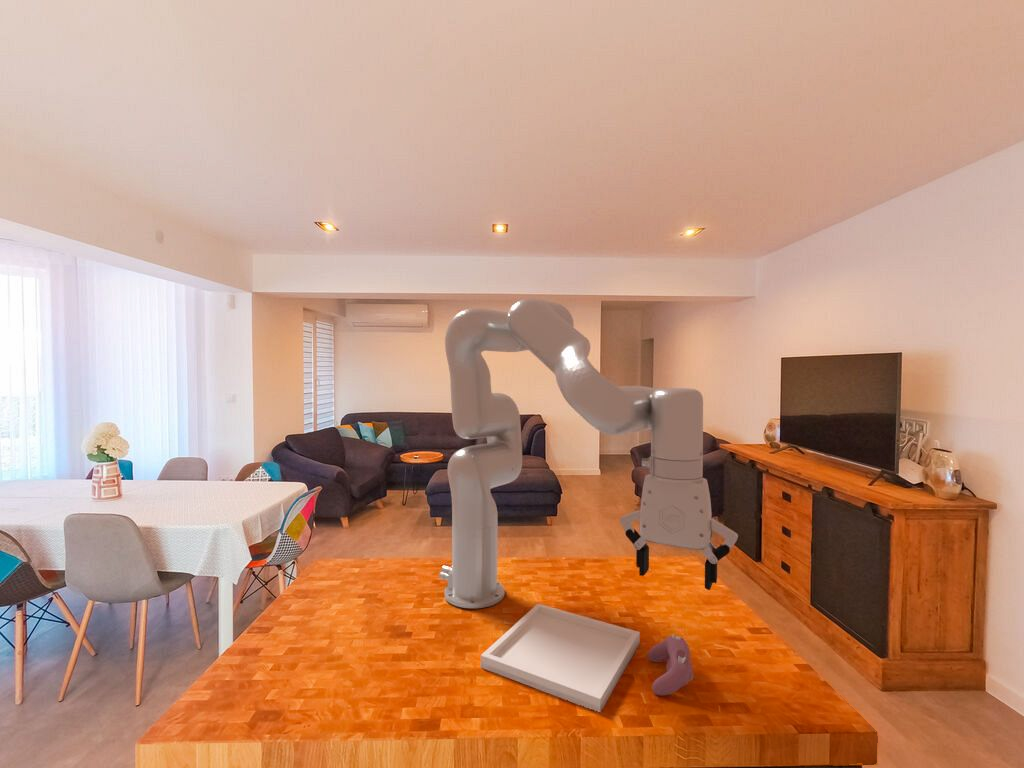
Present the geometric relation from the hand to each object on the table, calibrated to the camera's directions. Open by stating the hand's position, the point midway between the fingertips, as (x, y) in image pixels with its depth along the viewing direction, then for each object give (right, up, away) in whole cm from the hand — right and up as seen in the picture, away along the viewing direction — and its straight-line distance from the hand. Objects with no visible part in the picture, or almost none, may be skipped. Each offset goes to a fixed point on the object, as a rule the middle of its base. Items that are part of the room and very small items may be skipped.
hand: (675, 579), depth 74 cm
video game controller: (-1, -16, +1) cm, 16 cm away
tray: (-16, -15, +7) cm, 23 cm away
